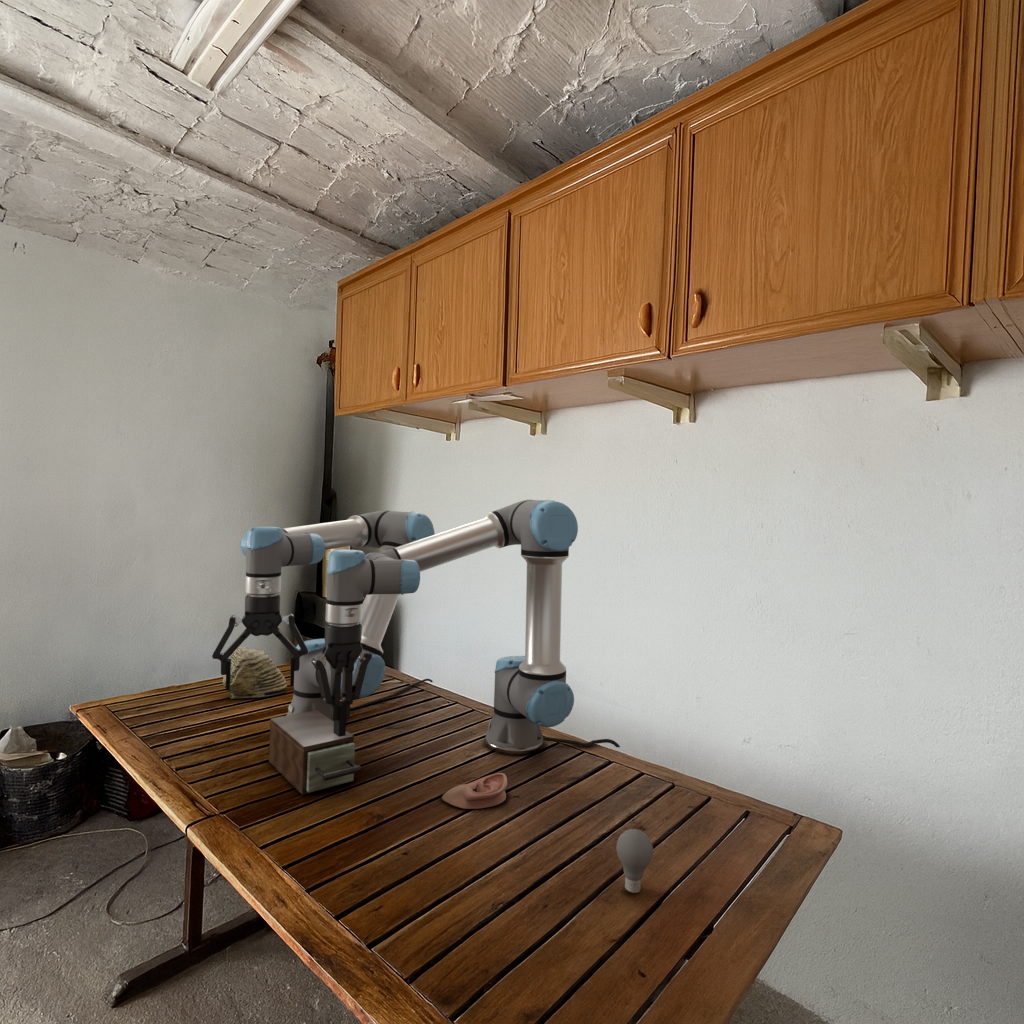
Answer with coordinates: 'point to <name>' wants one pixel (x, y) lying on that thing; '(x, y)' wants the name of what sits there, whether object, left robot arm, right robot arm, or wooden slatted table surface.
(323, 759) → the drawer
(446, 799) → the anatomical model
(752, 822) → the wooden slatted table surface
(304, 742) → the cabinet
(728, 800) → the wooden slatted table surface
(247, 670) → the fossil
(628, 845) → the light bulb
